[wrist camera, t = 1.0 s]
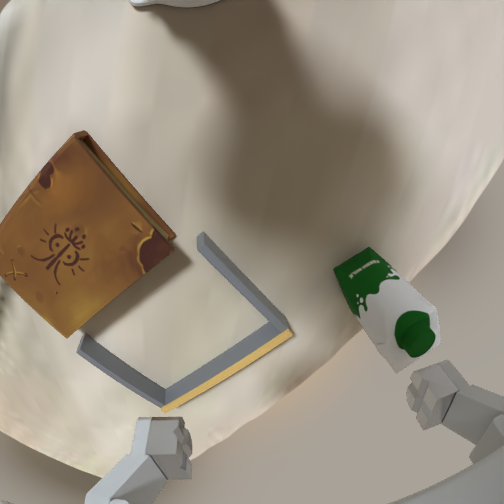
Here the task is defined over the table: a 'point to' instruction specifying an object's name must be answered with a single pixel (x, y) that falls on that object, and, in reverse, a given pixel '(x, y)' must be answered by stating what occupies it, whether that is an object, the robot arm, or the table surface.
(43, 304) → the diary
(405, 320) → the milk carton
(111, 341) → the table surface
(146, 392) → the bay
